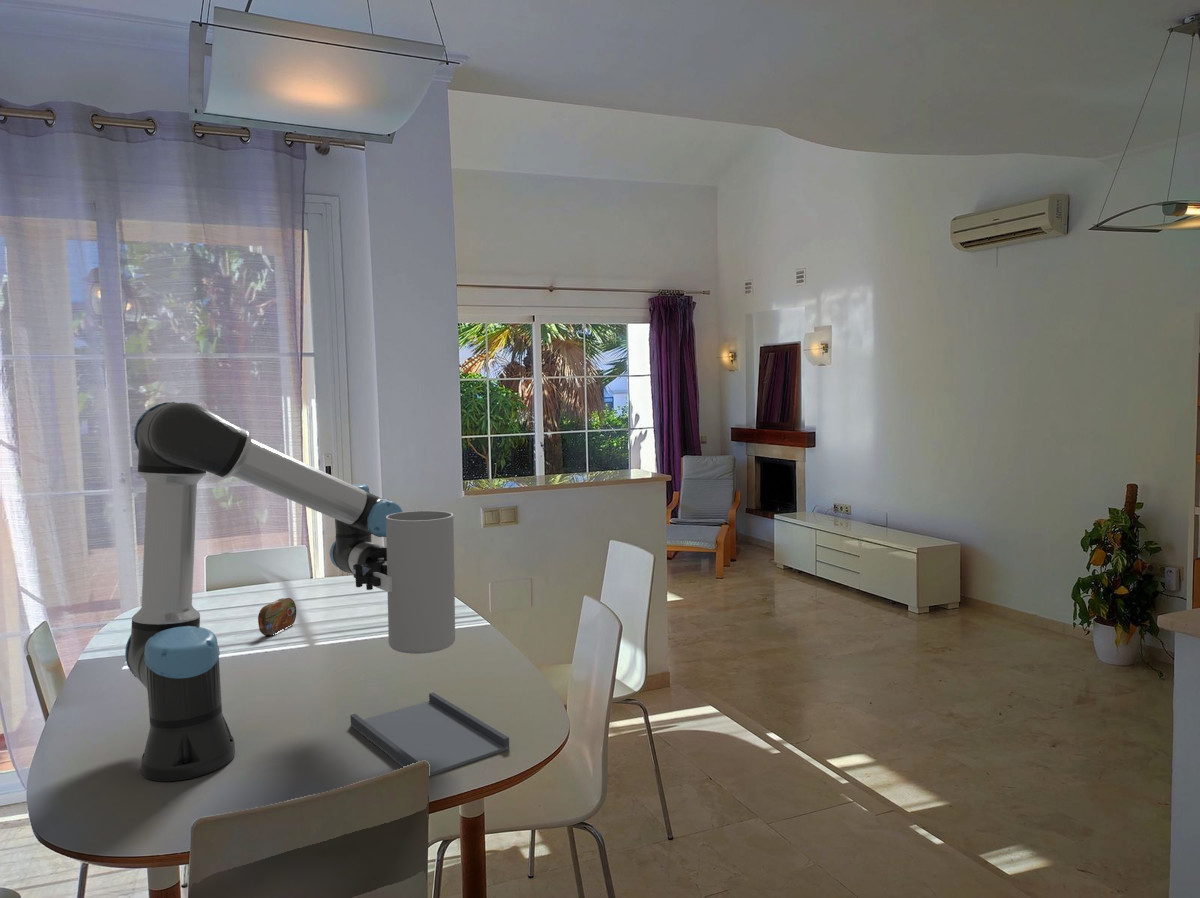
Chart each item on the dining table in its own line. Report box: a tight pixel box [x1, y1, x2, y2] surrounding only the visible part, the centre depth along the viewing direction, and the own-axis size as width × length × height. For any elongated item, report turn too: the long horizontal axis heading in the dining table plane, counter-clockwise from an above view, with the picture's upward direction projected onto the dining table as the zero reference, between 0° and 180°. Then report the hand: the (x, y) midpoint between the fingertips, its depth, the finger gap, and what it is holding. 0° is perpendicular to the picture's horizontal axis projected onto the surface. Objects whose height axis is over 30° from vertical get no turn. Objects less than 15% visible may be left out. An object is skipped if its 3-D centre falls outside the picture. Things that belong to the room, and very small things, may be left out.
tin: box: [257, 597, 297, 636], centre depth 231 cm, size 15×3×8 cm, turn 168°
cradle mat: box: [349, 691, 510, 777], centre depth 158 cm, size 30×18×2 cm, turn 38°
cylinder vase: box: [385, 510, 456, 655], centre depth 159 cm, size 12×12×25 cm
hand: (422, 578), depth 158 cm, fingers closed on cylinder vase, 12 cm apart
